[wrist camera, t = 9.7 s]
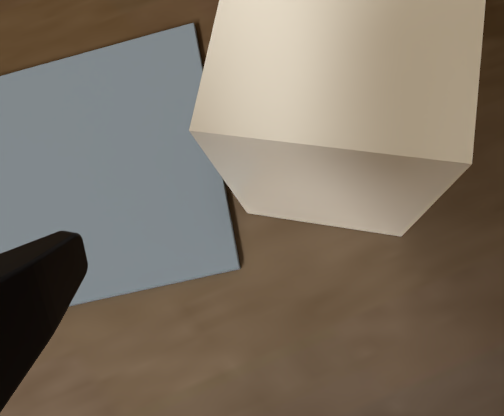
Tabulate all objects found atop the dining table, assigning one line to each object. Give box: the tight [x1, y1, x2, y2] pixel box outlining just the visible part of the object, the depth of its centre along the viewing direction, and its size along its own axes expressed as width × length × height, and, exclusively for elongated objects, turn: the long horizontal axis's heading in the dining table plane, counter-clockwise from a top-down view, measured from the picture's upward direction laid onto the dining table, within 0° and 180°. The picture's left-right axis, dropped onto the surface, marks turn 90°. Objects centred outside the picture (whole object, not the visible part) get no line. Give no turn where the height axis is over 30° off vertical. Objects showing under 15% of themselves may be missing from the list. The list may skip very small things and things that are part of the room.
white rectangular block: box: [189, 0, 486, 236], centre depth 17 cm, size 7×7×10 cm
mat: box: [0, 23, 241, 306], centre depth 24 cm, size 14×14×1 cm
